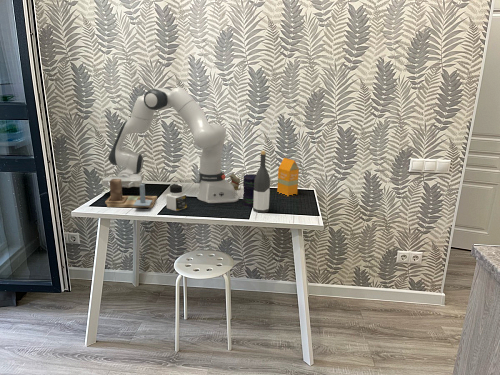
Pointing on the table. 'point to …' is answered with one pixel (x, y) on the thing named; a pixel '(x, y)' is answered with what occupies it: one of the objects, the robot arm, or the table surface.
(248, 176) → the storage jar
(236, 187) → the chocolate bunny
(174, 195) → the medicine bottle
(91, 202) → the table surface
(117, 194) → the walnut block
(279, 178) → the orange juice
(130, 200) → the board
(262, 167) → the wine bottle
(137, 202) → the grey post on base
